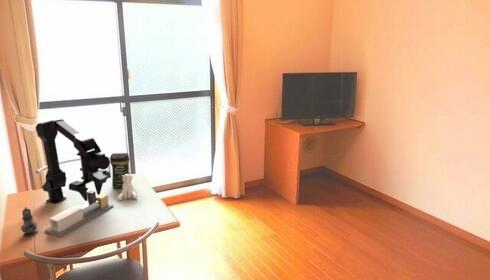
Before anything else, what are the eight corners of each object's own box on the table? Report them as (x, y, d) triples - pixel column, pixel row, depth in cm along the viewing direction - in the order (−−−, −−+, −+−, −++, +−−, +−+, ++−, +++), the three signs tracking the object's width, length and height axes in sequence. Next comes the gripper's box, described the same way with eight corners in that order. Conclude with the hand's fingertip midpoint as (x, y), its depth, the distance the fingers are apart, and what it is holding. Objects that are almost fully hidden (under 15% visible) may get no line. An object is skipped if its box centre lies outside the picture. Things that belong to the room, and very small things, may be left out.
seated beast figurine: (117, 201, 171) (114, 178, 168) (119, 193, 180) (116, 172, 176) (137, 199, 174) (135, 177, 170) (138, 192, 182) (136, 170, 178)
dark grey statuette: (26, 230, 145) (21, 204, 142) (41, 229, 146) (36, 203, 142) (19, 237, 140) (13, 210, 136) (34, 237, 140) (29, 210, 137)
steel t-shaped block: (70, 218, 151) (67, 201, 149) (100, 202, 166) (98, 186, 164) (75, 219, 150) (72, 202, 148) (105, 203, 165) (103, 187, 162)
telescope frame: (44, 232, 144) (42, 219, 142) (99, 203, 169) (97, 191, 168) (60, 237, 140) (58, 223, 139) (113, 206, 166) (112, 195, 164)
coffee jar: (111, 189, 185) (107, 156, 179) (114, 183, 192) (111, 151, 187) (130, 188, 186) (127, 155, 181) (132, 182, 193) (129, 150, 188)
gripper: (84, 175, 144) (89, 209, 148) (117, 161, 160) (120, 192, 164) (65, 171, 148) (70, 204, 152) (99, 158, 164) (103, 188, 169)
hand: (92, 197), depth 159 cm, fingers open, 7 cm apart
